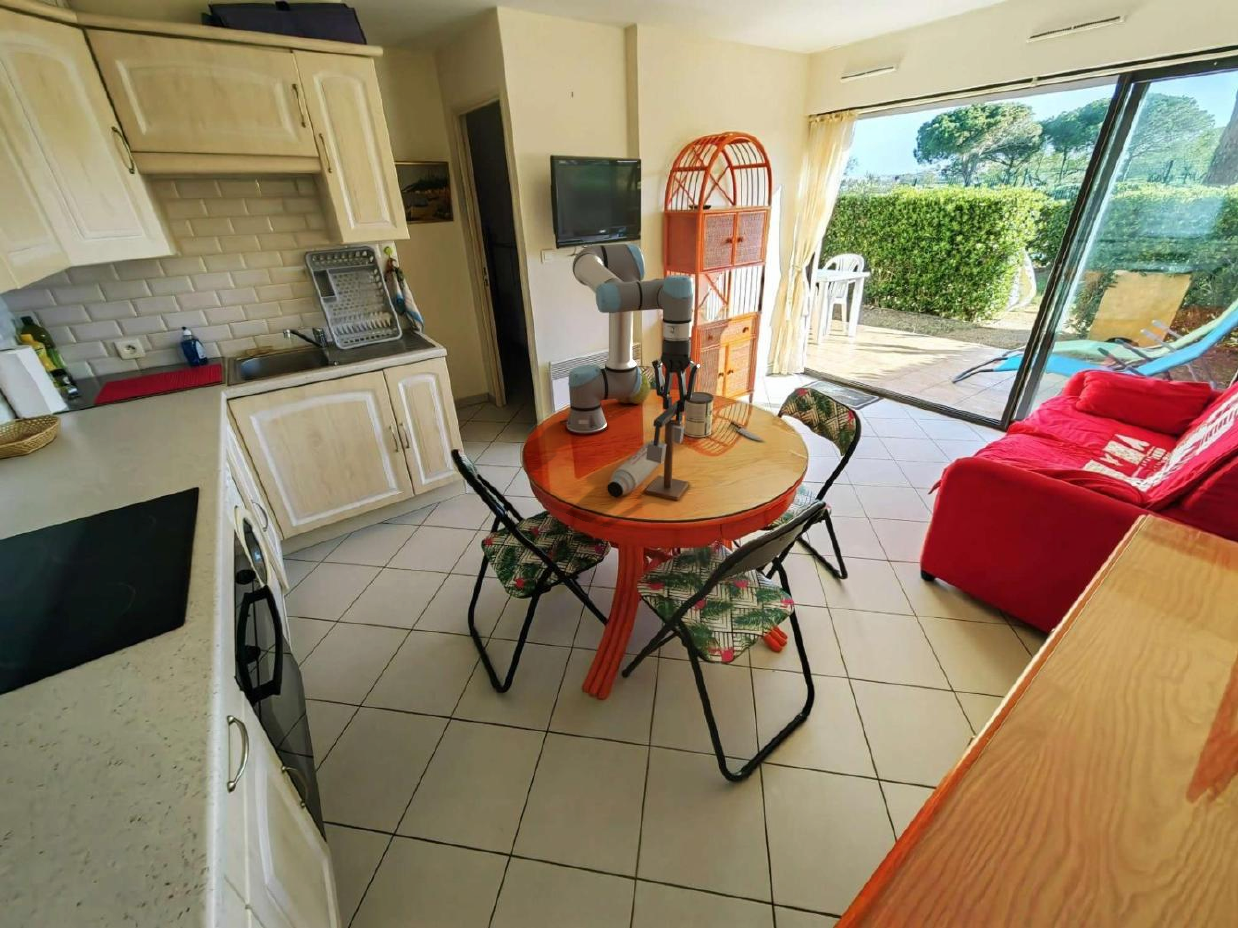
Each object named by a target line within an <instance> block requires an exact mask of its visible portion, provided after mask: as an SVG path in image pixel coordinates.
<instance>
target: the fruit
mask: <svg viewBox="0 0 1238 928" xmlns="http://www.w3.org/2000/svg"><path fill="white" fill-rule="evenodd" d="M650 394H651V382H650V381H649V377H647V375H646V374H644V373H642V372H641V386H640V390H639V392H638V393H637V394H636V395H635V396H632V397H628V398H618V399H616V401H618V402H619V403H622V404H634V405H635V404H638V405H641V404H643V403H644V402H645V401H646V400H647V399H648V397H649V396H650Z"/></svg>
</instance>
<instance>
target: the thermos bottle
mask: <svg viewBox="0 0 1238 928" xmlns="http://www.w3.org/2000/svg"><path fill="white" fill-rule="evenodd" d="M650 441H651V440H650ZM650 441H647V442H646V443H645V444H644V445H642V446H641V447H640V448H639V449H637V451H635V452H634V453H633V454H632V455H631V456H630V457H629V458H628V459H627V460H625V461H624V462H623V463H622V464H621V465H619V467H617V468H616V469H614V471H613V472H612V474H611V477H610V479H609V483H608V484H607V486H606V490H607V493H608V494H609V495H610V497H612V498H614V499H619V498H621V497H622V496H626V495H628V494H631V493H634V491H635V490H637V488H638V487H639V486H640V485H641V484H642V483H643V482H644V481H645V480H646V479H647V478H648V477H649V476H650V475H651V474H652V473H653V472H654V471H655V470H656V469H657V468H658V467H659V466H660V465H661V464H660V463H657V462H653V461H650V460H646V456H647V447H648V443H649V442H650Z"/></svg>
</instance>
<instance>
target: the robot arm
mask: <svg viewBox="0 0 1238 928" xmlns="http://www.w3.org/2000/svg"><path fill="white" fill-rule="evenodd" d="M571 269H572V274H573V276H574V278H575V279H576V281H577V282H578V283H580V284H581V285H583V286H586V287H587V288H589V289H590V290H591V291H592V292H593V293H594V294H595V304H596V307H597V310H598V311H599V312H600V313H602V314H608V358H607V360H605V361H604V368H601V367H600V366H599V365H597V364H584V365H580V366H577V367H575V368H573V369H571V370H570V371H569V373H568V383H567V386H568V391H569V393H568V394H569V408H570V409H569V412H568V416H567V419H564V420H561V421H560V422H559V423H560V424H564V423H566V430H567V431H568V432H570V433H572V434H574V435H581V436H590V435H591V436H592V435H596V434H599V433H602V432H604V431H605V430H606V429H607V427H608V426H607V420H606V417H605V414H604V412H603V409H602V401H608V400H609V401H610V400H617V399H618V398H628V397H632V396H635V395H636V394H637V393H638V392H639V390H640V386H641V373H642V371H641V368H640V367H639V366H638V365H637V362H636V361H635V360H634V359H633V338H634V312H639V311H640V312H641V311H653V310H654V311H655V310H661V311H662V337H663V338H662V340H661V352H662V353H661V355H660V358H656V359H655V360H653V361H652V362H651V365H652V368H653V370H654V377H655V378H654V379H655V390H656V396H658V397H661V398H662V409H663V410H667V409H668V408H669V407H670V406H671V405H672V404H673V397H672V396H671V389H672V383H673V376H674V373H675V374H676V377H677V385H678V394H679V395H678V396H679V399H678V400H676V401H677V418H676V417H675V419H676V420H678V421H683V413H685V410H686V400H690V399H691V398H692V397H693V394H694V392H695V387H696V380H697V374H698V372H699V370H700V368H701V364H700V363H695V362H694V361H693V360H692V357H691V347H692V346H691V344H692V340H691V337H692V326H693V325H692V320H693V305H694V303H693V302H694V293H695V291H694V279H693V277H692V276H690V275H686V274H685V275H683V274H671V275H666V276H665V277H664V278H653V279H651V280H644V279H645V276H646V265H645V259H644V255H643V253H642V250H641V248H640V247H639V246H638V245H637V244H633V243H613V244H593V245H590V246H586V247H585V248H583V249H581V250H580V251H579V252H578V253H577V254H576V255H575V257H574V259H573V261H572V267H571ZM662 367H664V368H665V373H664V375H665V377H664V376H663V368H662ZM687 368H689V370H690V372H689V377H688V381H686V373H687V372H686V370H687ZM686 382H688V383H686Z"/></svg>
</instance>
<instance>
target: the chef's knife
mask: <svg viewBox="0 0 1238 928" xmlns="http://www.w3.org/2000/svg"><path fill="white" fill-rule="evenodd" d="M730 425H731V426H734V427H736V428H737V430H736V432H738V433H740V434H742V435H743V436H745V437H746V438H749V439H750V440H751V439H752V440H754V441H758V442H764V440H762V439H761V438H760V437H759V436H757V435H755V434H754V433H752V432H750V431H748V430H747V429H745V428H743V427H742V426H740V425H739V424H737V423H736V422H734V421H731V422H730Z"/></svg>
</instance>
